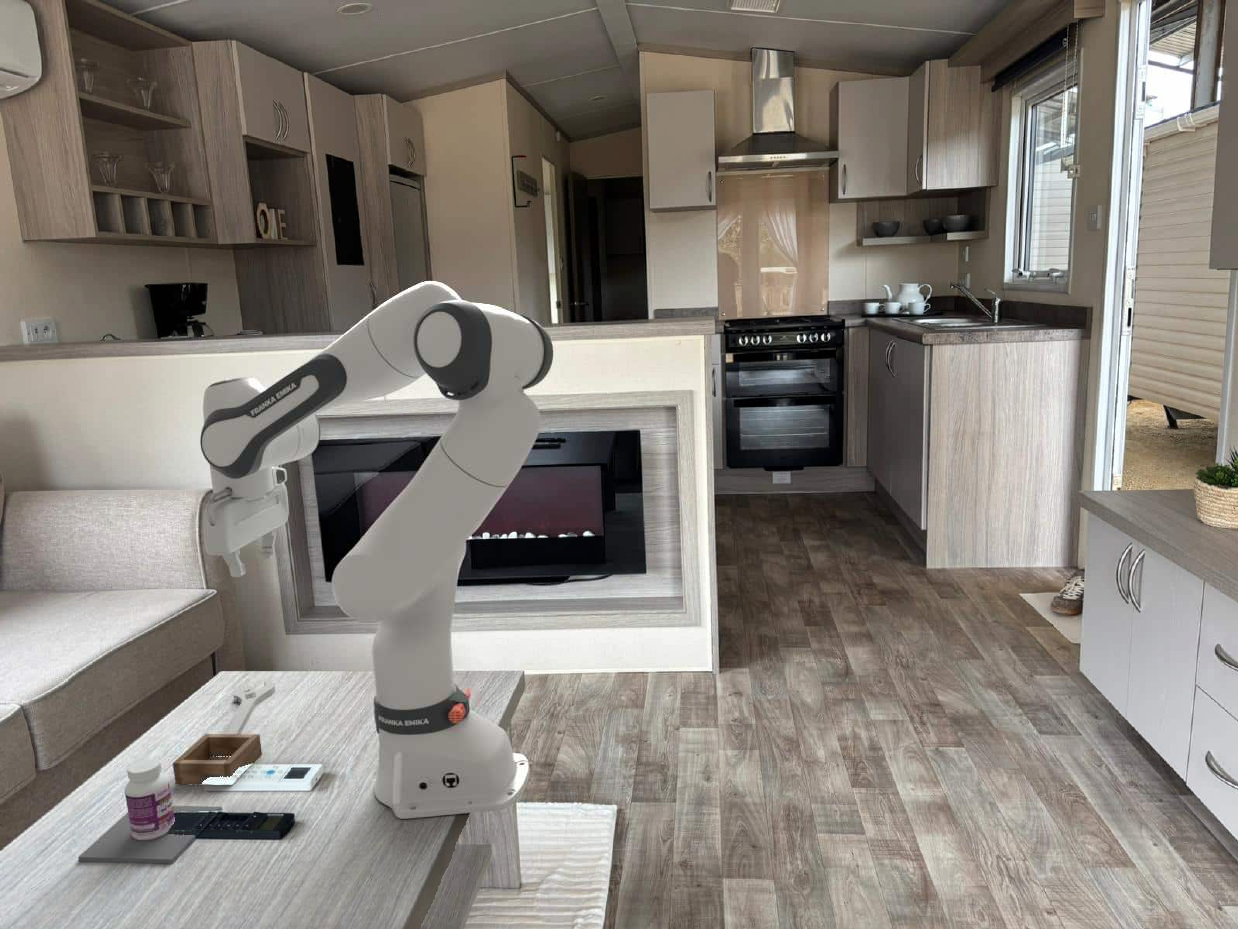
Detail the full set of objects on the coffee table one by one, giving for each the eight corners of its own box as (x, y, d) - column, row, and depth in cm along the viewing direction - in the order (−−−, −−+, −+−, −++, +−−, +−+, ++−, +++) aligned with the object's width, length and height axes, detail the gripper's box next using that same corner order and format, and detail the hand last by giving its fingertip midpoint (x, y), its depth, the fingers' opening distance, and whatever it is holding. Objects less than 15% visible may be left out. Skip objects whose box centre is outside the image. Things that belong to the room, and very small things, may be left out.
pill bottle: (170, 838, 121) (160, 772, 119) (127, 845, 120) (115, 778, 118) (180, 816, 126) (170, 752, 124) (138, 822, 125) (128, 758, 123)
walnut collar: (262, 754, 144) (259, 734, 143) (232, 785, 135) (229, 764, 134) (208, 754, 145) (205, 734, 144) (175, 784, 136) (172, 763, 135)
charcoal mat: (222, 810, 128) (221, 806, 128) (172, 863, 117) (171, 859, 116) (136, 809, 130) (135, 805, 130) (78, 861, 118) (78, 857, 118)
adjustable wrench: (230, 757, 145) (228, 746, 144) (189, 759, 144) (187, 749, 144) (279, 688, 169) (278, 679, 169) (244, 690, 169) (243, 681, 168)
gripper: (226, 496, 131) (238, 587, 134) (291, 468, 151) (300, 548, 154) (185, 497, 132) (198, 587, 135) (255, 469, 152) (265, 548, 155)
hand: (253, 566), depth 144 cm, fingers open, 8 cm apart
